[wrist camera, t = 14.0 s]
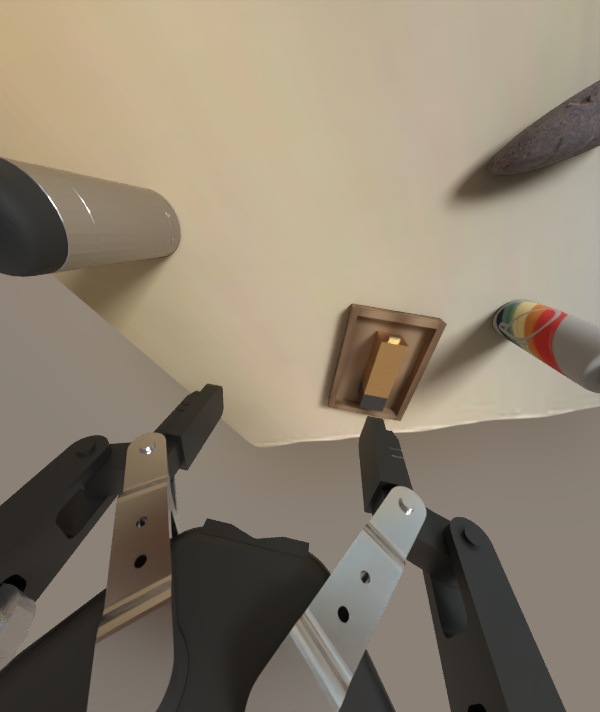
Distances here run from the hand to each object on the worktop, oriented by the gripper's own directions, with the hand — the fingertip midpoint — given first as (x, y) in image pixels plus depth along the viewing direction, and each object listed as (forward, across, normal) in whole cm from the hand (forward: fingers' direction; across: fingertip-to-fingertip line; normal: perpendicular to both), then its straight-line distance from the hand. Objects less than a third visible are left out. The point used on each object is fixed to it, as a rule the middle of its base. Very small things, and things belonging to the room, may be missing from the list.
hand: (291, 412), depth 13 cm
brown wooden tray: (+28, -12, +11) cm, 32 cm away
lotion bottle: (+28, -29, -1) cm, 41 cm away
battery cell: (+28, -12, +11) cm, 32 cm away
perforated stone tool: (+28, -22, -21) cm, 42 cm away
